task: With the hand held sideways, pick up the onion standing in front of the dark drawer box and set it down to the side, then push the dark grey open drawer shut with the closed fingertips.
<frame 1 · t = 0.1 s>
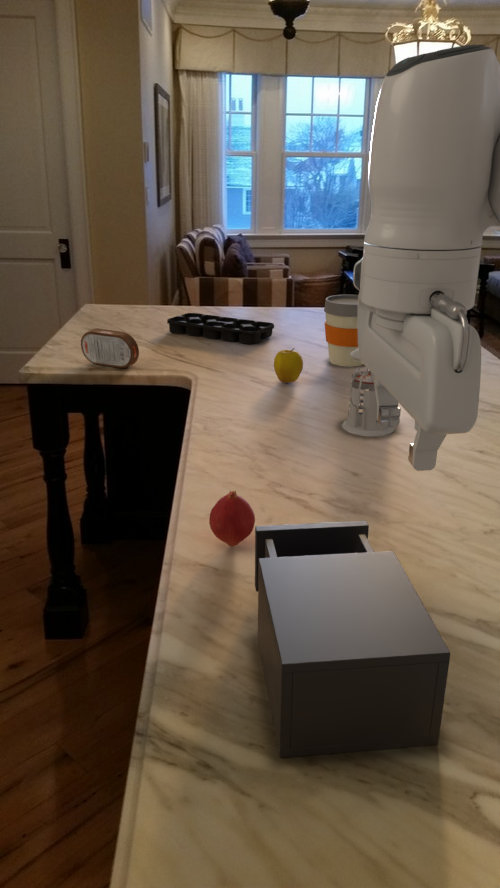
hand: (403, 444, 61), 24 cm above the kitchen island, tool pointing down, fingers open, 8 cm apart
apple: (288, 383, 155), on the kitchen island
reusable coffee cup: (347, 362, 171), on the kitchen island
french press: (366, 429, 130), on the kitchen island
dark grey open drawer: (321, 587, 74), point 5 cm above the kitchen island, slide at 7.0 cm
tin: (110, 366, 167), on the kitchen island
onion: (232, 546, 91), on the kitchen island
egg carton: (220, 335, 196), on the kitchen island
dark drawer box: (339, 686, 67), on the kitchen island
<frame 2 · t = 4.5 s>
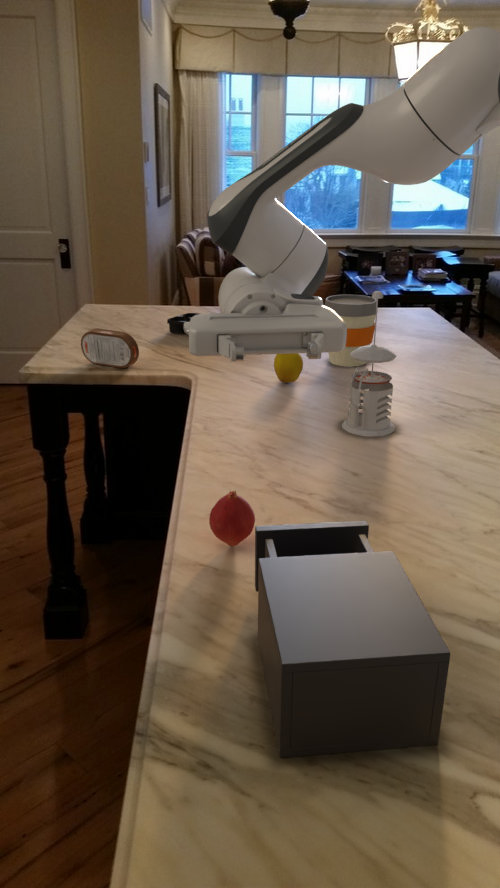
hand: (277, 354, 84), 25 cm above the kitchen island, tool horizontal, fingers open, 8 cm apart
nothing on the kitchen island moved.
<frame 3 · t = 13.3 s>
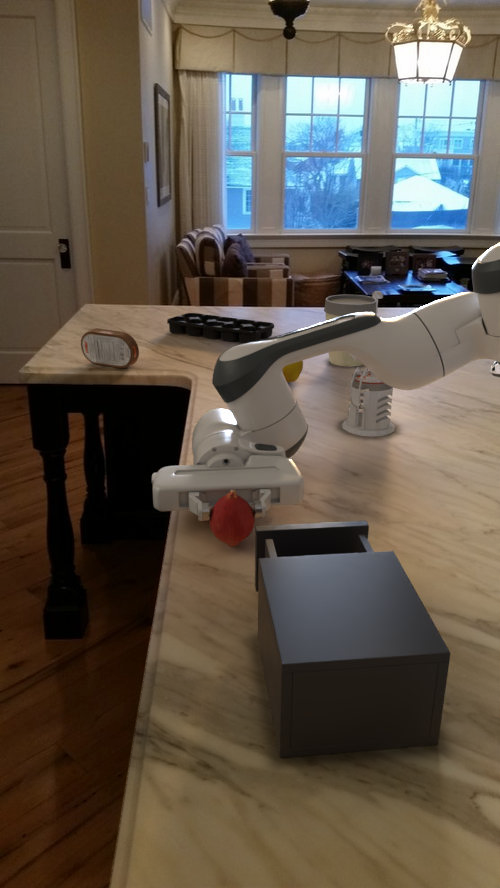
hand: (232, 514, 88), 5 cm above the kitchen island, tool horizontal, fingers closed on onion, 6 cm apart
onion: (232, 546, 91), on the kitchen island, touching gripper
everything else where it was.
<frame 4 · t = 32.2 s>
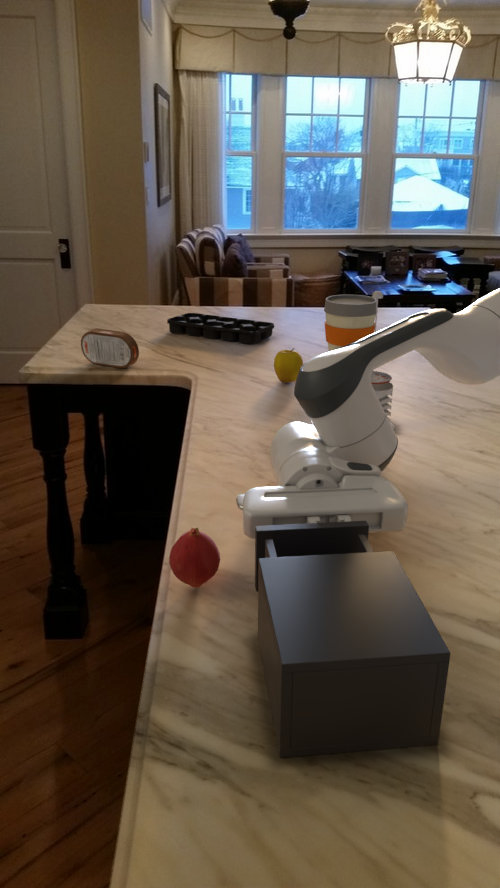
hand: (336, 543, 80), 6 cm above the kitchen island, tool horizontal, fingers closed, pressing on dark grey open drawer
dark grey open drawer: (321, 587, 74), point 5 cm above the kitchen island, slide at 7.0 cm, touching gripper
onion: (195, 587, 83), on the kitchen island
everything else where it was.
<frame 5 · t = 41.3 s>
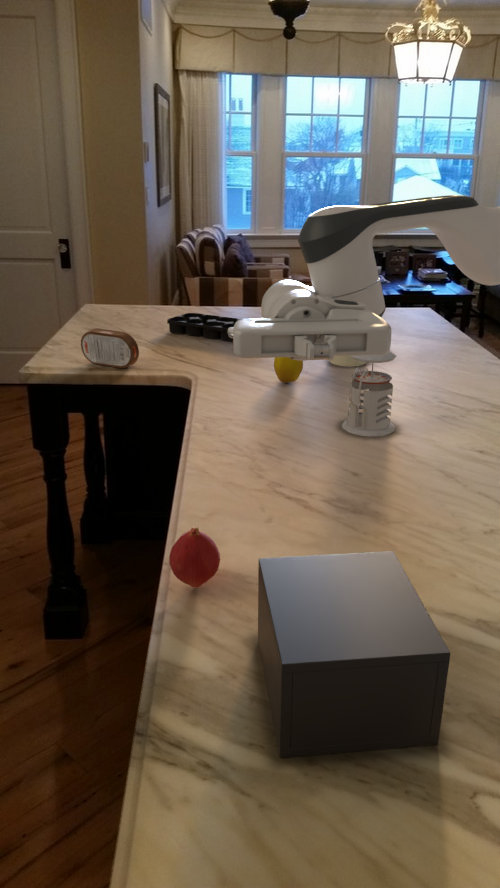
hand: (321, 353, 84), 25 cm above the kitchen island, tool horizontal, fingers closed
dark grey open drawer: (335, 627, 68), point 5 cm above the kitchen island, slide at 0.2 cm
everything else where it was.
at the end: dark grey open drawer slide at 0.2 cm; onion moved 10.2 cm from its start; onion tilted 0° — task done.
